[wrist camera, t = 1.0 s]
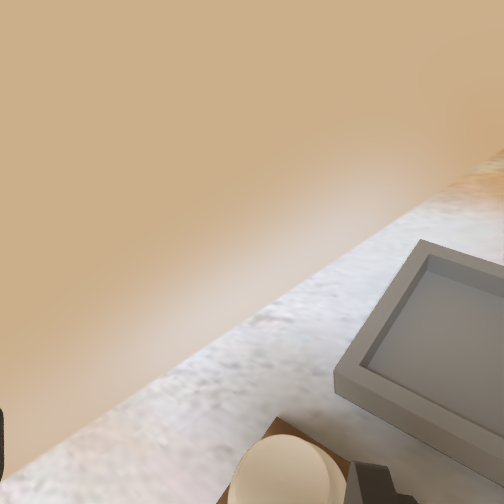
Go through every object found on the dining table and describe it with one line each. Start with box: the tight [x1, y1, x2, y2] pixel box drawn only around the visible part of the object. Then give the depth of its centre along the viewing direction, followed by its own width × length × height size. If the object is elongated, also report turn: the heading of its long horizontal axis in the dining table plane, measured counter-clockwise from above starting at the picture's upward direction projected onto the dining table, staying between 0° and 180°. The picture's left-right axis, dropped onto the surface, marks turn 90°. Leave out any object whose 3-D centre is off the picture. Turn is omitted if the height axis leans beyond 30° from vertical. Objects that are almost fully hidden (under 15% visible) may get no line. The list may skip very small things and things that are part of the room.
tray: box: [333, 239, 504, 487], centre depth 31 cm, size 14×14×3 cm
